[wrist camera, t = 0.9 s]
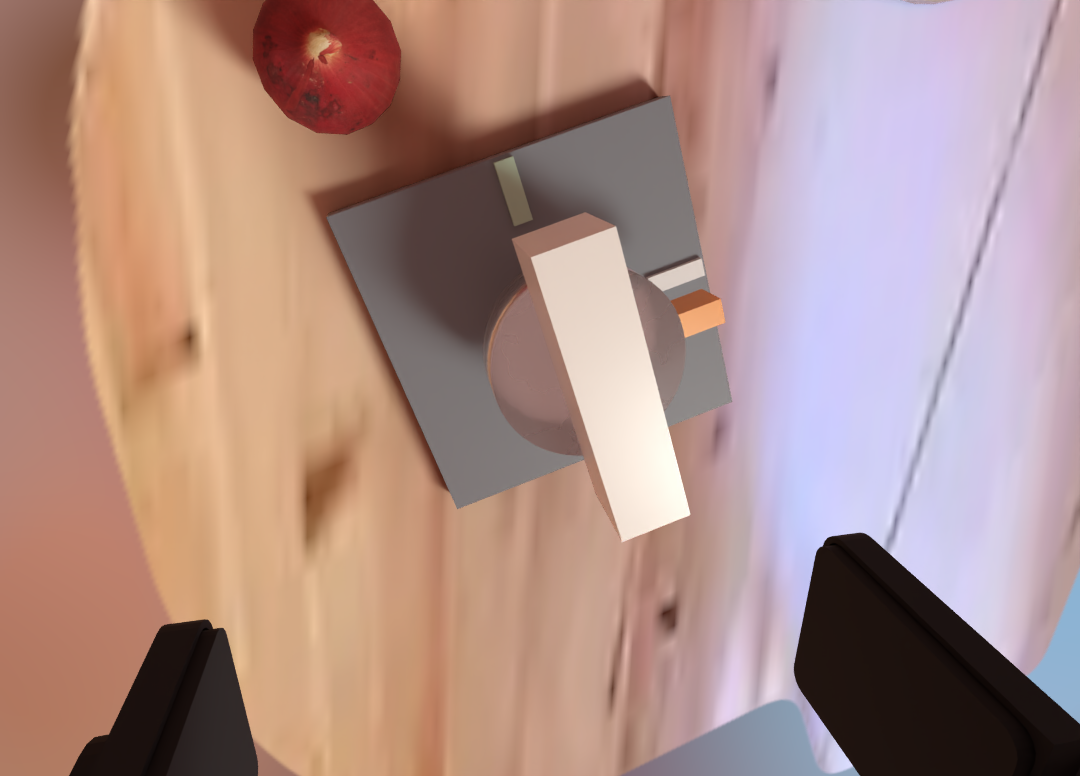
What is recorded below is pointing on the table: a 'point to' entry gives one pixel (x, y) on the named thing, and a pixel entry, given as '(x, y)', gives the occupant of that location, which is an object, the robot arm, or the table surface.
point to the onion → (327, 61)
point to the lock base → (491, 264)
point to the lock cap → (596, 365)
